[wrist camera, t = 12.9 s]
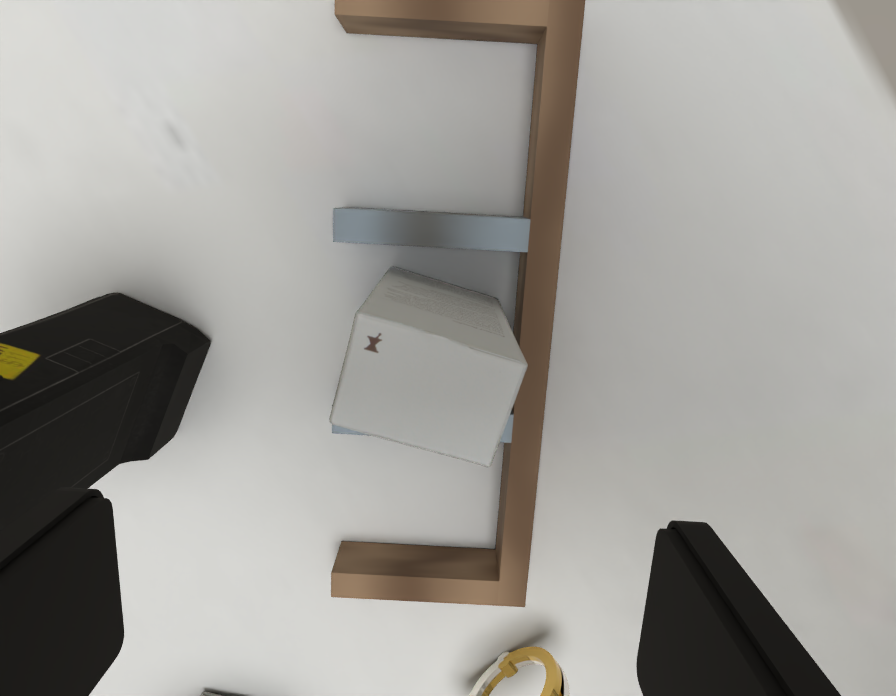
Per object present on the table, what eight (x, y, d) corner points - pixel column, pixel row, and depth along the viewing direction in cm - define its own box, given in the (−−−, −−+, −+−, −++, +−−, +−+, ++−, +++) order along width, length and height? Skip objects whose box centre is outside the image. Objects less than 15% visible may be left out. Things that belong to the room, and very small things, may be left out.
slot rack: (572, 10, 28) (586, -12, 25) (518, 572, 35) (524, 607, 32) (347, -3, 28) (334, -26, 25) (341, 563, 35) (331, 597, 32)
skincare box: (369, 340, 32) (321, 424, 20) (390, 264, 31) (353, 306, 19) (477, 373, 32) (491, 473, 21) (502, 298, 31) (531, 359, 20)
